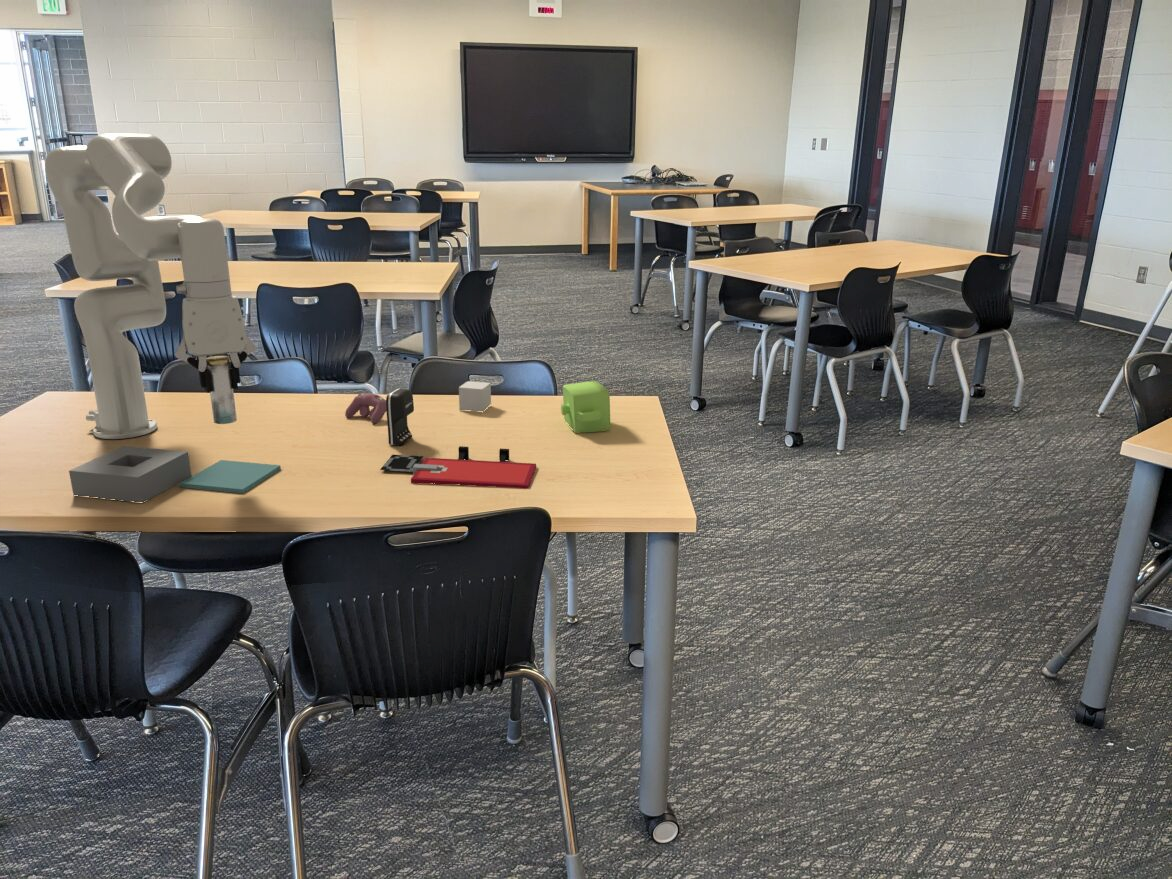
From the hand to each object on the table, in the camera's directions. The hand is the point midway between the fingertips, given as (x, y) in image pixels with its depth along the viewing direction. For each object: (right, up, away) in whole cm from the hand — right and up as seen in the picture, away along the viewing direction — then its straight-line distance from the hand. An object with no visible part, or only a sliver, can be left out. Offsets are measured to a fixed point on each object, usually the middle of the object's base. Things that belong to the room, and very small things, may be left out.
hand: (221, 388), depth 161 cm
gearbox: (+67, -7, +40) cm, 78 cm away
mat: (0, -17, +6) cm, 18 cm away
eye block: (-17, -18, +1) cm, 25 cm away
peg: (0, -6, +2) cm, 6 cm away
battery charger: (+28, -10, +28) cm, 40 cm away
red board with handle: (+42, -16, +11) cm, 47 cm away
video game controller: (+16, -5, +43) cm, 46 cm away
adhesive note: (+40, -2, +52) cm, 66 cm away
